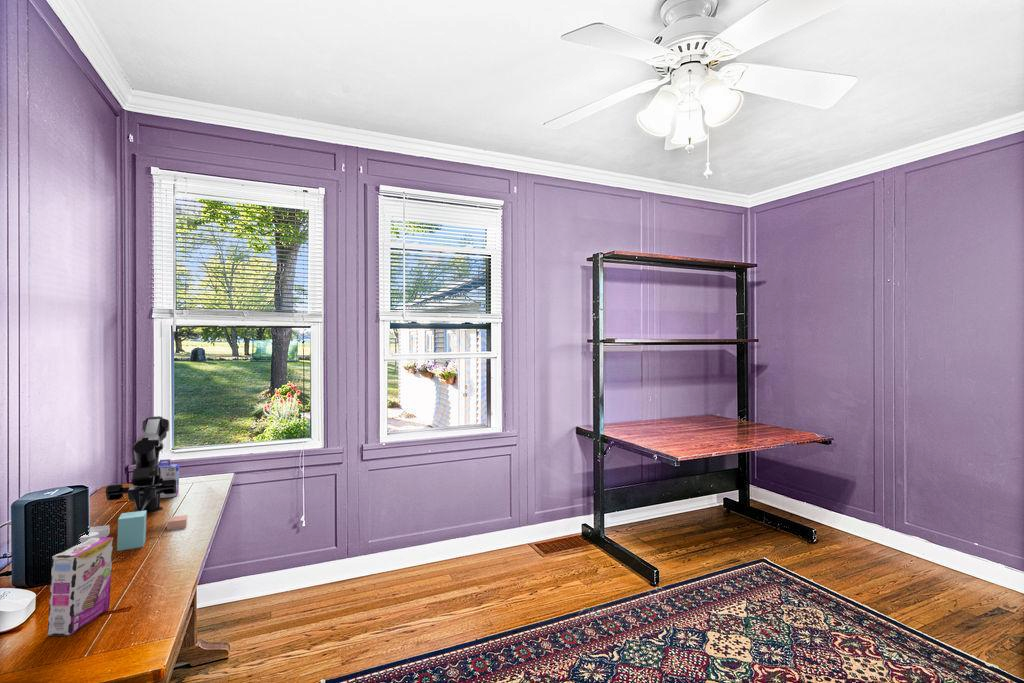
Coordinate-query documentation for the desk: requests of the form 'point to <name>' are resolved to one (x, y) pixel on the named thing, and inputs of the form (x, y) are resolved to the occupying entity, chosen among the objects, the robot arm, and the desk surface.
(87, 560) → the candy bar box
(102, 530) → the pale grey block
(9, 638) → the desk surface
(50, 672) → the desk surface
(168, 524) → the terracotta block
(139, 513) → the teal upright rectangular block
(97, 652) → the desk surface
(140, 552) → the desk surface
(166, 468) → the ink cartridge box
